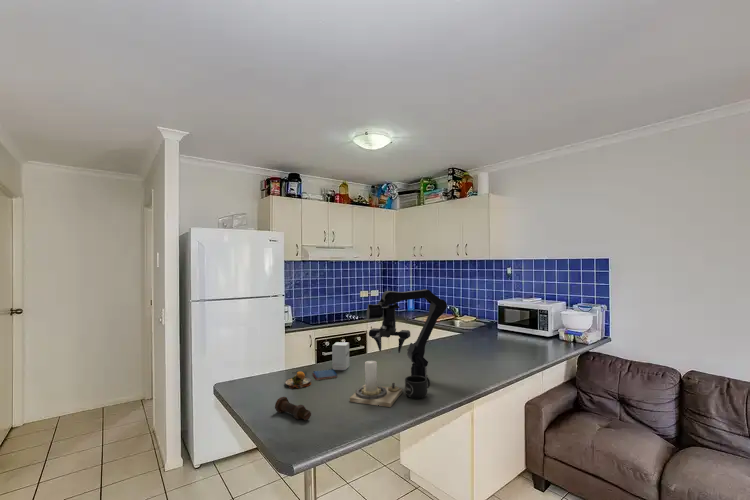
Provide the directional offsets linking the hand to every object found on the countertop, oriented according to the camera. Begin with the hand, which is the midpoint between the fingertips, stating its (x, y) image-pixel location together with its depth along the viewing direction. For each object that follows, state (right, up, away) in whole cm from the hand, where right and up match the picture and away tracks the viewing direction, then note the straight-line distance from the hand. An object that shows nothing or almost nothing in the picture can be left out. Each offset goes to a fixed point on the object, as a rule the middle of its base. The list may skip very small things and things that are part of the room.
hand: (389, 352), depth 168 cm
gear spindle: (-8, -11, -21) cm, 25 cm away
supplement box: (-25, -14, +19) cm, 34 cm away
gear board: (-6, -13, -20) cm, 25 cm away
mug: (+11, -13, -19) cm, 26 cm away
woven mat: (-31, -14, +7) cm, 35 cm away
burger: (-42, -14, -4) cm, 44 cm away
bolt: (-36, -13, -37) cm, 54 cm away
